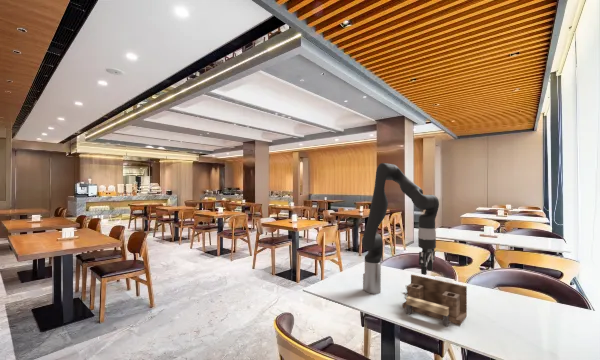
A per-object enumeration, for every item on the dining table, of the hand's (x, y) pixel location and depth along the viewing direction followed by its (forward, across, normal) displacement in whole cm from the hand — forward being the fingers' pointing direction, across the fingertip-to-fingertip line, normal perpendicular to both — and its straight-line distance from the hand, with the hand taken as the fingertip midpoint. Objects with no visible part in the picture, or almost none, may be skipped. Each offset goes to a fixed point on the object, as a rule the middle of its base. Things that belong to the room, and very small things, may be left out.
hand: (427, 272), depth 131 cm
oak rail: (+21, 0, 0) cm, 21 cm away
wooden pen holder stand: (+21, -10, 0) cm, 24 cm away
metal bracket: (+22, -25, -13) cm, 36 cm away
